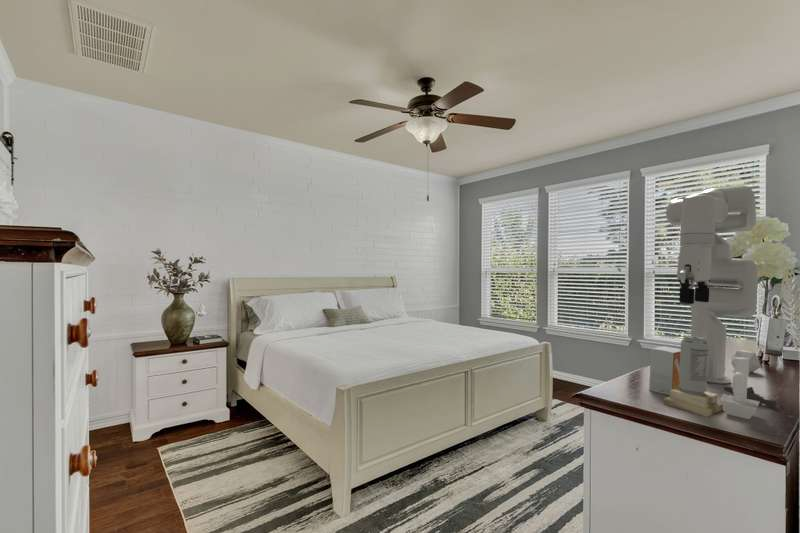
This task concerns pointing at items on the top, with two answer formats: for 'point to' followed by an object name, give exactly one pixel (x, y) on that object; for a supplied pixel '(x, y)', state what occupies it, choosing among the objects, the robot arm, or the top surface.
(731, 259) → the robot arm
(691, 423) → the top surface
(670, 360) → the small box
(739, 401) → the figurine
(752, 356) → the die
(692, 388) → the energy drink can
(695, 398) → the plinth
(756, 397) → the animal figurine
